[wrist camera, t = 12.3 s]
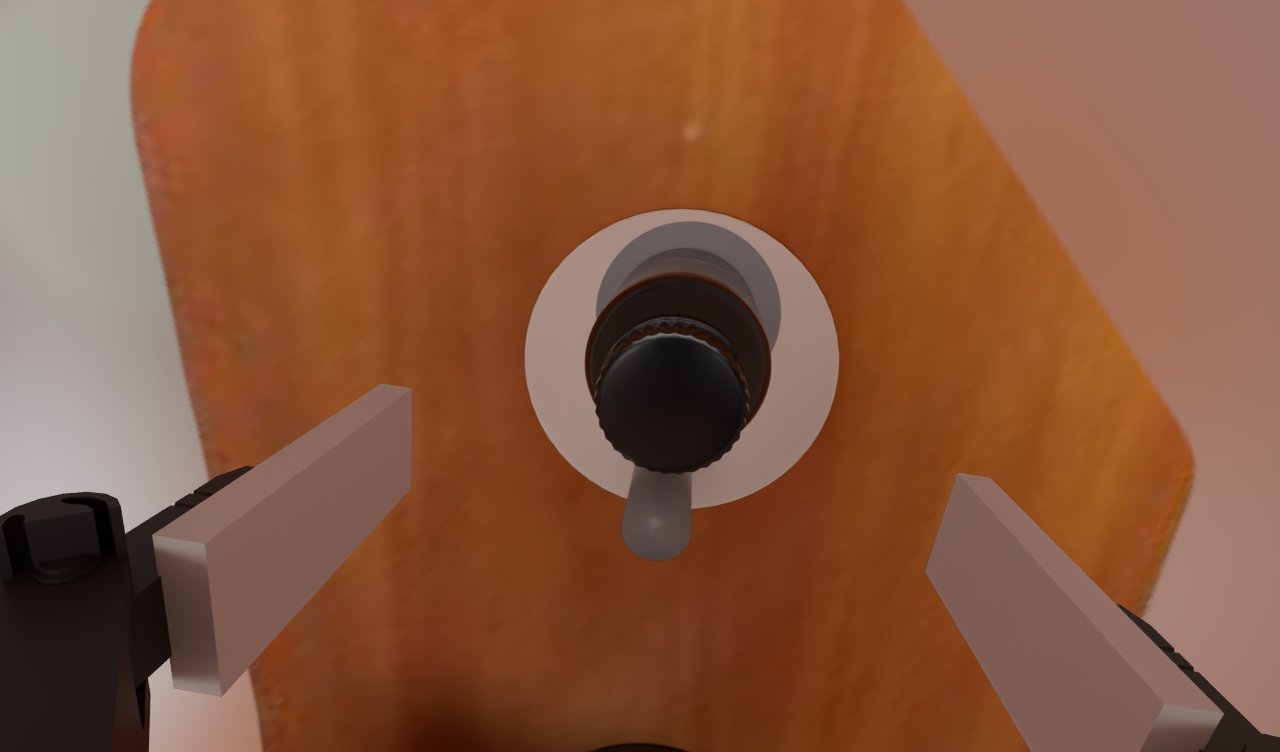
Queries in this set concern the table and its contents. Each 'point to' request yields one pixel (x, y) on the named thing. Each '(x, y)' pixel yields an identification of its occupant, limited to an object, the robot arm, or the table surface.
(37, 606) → the robot arm
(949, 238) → the table surface
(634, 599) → the table surface
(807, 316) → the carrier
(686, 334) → the supplement bottle
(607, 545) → the table surface
